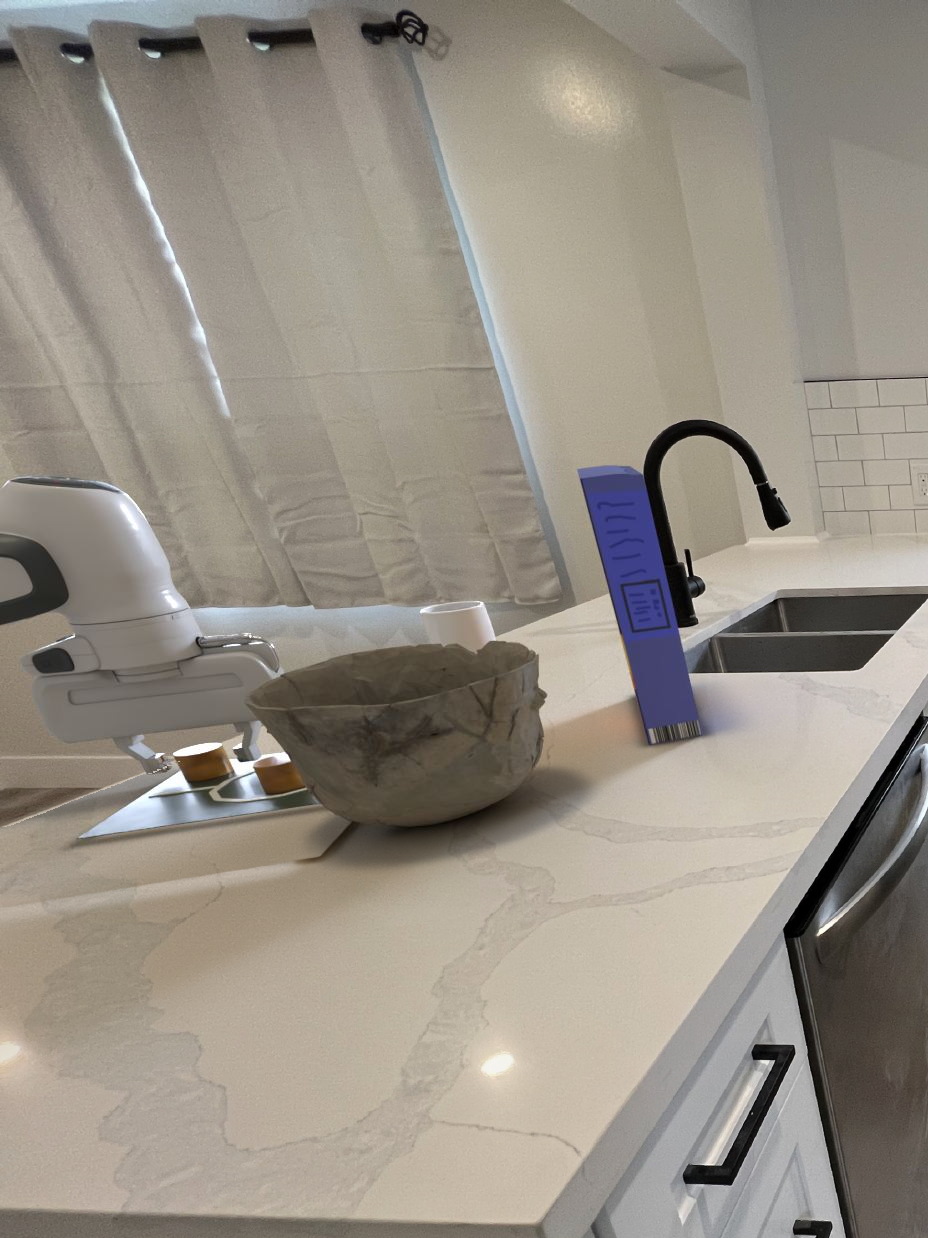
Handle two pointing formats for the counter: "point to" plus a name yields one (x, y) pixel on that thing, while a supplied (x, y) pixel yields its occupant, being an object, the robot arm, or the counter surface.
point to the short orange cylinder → (203, 762)
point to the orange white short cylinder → (277, 774)
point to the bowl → (409, 729)
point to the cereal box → (641, 600)
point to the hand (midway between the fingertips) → (206, 765)
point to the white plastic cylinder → (459, 624)
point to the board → (201, 801)
